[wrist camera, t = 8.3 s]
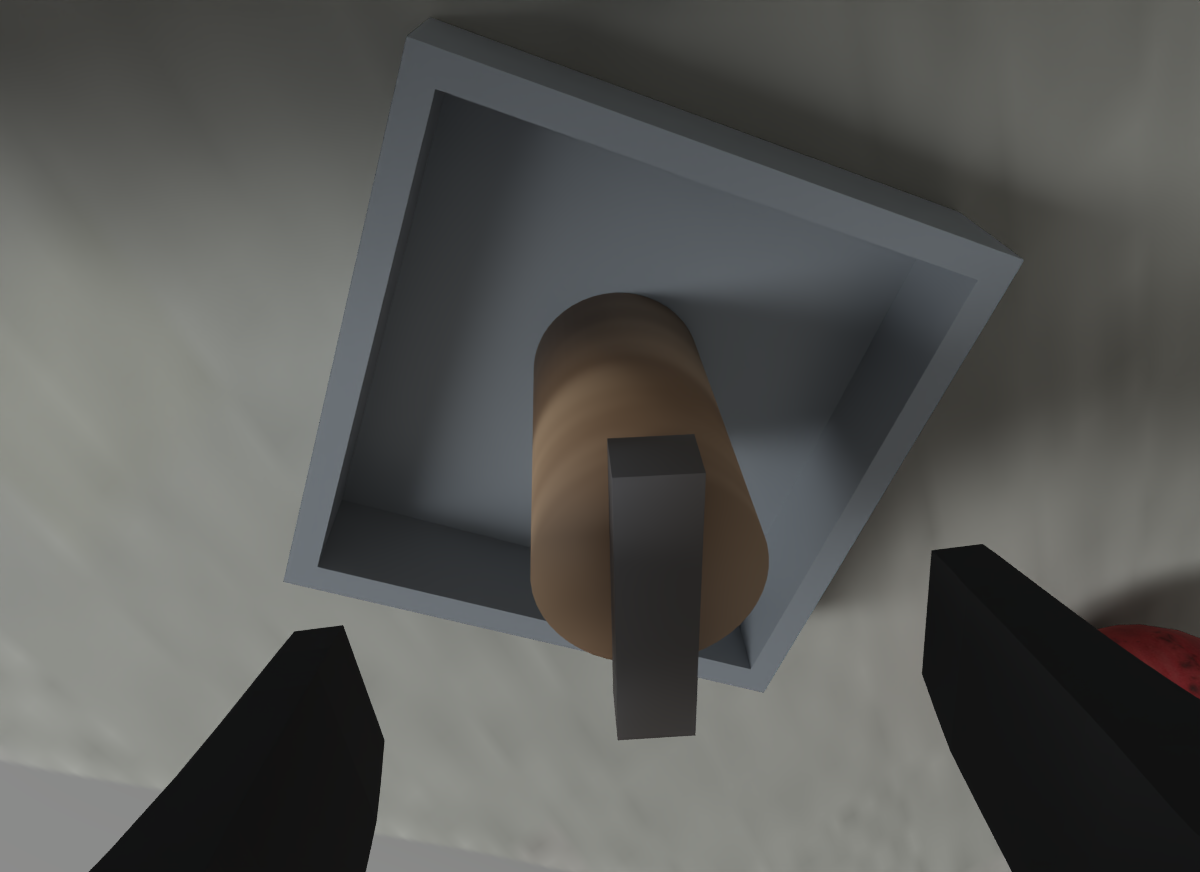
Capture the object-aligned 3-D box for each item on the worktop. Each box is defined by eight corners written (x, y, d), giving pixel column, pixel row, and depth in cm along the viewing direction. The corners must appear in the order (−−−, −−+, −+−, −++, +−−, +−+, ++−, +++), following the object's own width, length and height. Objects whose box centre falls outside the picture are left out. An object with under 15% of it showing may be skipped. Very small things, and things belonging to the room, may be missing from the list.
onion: (1095, 524, 23) (1327, 787, 16) (1220, 624, 25) (1474, 898, 18) (924, 660, 25) (1063, 944, 18) (1051, 742, 27) (1220, 1028, 20)
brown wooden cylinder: (540, 468, 21) (539, 745, 14) (526, 268, 18) (517, 482, 11) (695, 460, 21) (772, 730, 14) (702, 261, 18) (799, 468, 11)
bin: (316, 501, 22) (283, 581, 19) (430, 17, 16) (406, 35, 14) (741, 607, 24) (763, 692, 21) (959, 212, 19) (1024, 259, 16)
